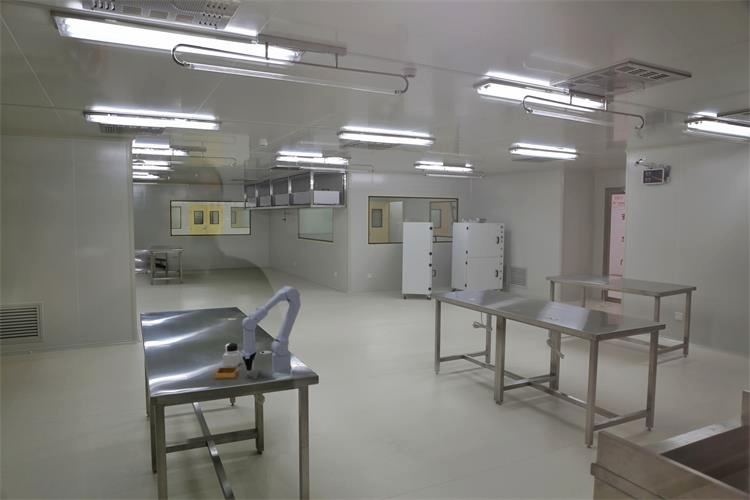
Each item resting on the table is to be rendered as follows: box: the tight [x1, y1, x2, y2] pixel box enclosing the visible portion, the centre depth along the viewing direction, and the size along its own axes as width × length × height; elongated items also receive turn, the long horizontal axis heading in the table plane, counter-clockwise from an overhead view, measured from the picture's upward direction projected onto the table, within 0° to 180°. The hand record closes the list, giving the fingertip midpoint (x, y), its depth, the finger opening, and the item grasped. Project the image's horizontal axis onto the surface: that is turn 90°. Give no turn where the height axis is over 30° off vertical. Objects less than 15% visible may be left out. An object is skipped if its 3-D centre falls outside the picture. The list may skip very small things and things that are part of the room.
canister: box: [245, 358, 255, 373], centre depth 239 cm, size 4×4×7 cm
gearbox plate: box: [213, 366, 261, 381], centre depth 238 cm, size 20×13×4 cm, turn 96°
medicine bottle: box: [222, 342, 241, 368], centre depth 255 cm, size 7×7×12 cm
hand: (249, 368), depth 239 cm, fingers closed on canister, 4 cm apart
